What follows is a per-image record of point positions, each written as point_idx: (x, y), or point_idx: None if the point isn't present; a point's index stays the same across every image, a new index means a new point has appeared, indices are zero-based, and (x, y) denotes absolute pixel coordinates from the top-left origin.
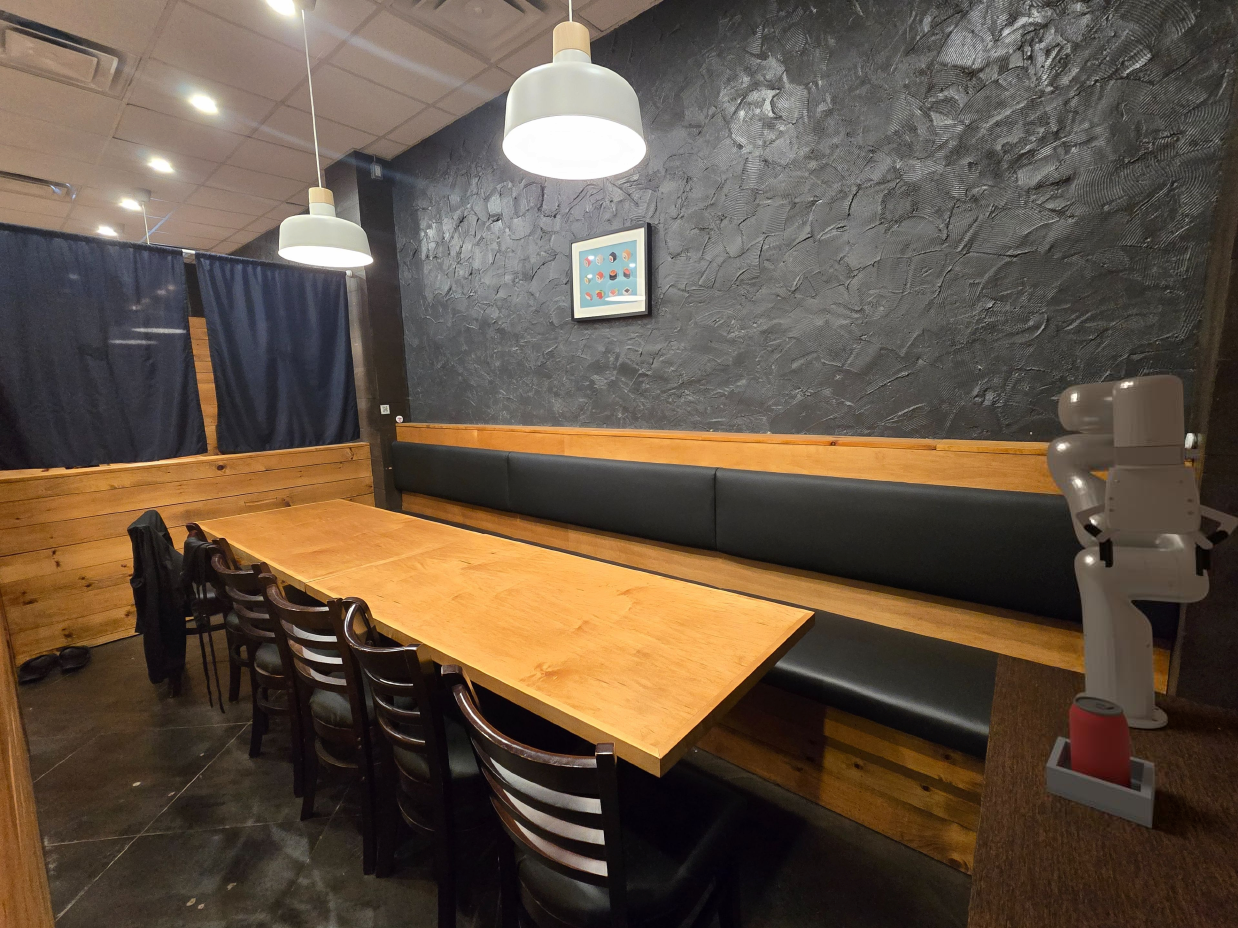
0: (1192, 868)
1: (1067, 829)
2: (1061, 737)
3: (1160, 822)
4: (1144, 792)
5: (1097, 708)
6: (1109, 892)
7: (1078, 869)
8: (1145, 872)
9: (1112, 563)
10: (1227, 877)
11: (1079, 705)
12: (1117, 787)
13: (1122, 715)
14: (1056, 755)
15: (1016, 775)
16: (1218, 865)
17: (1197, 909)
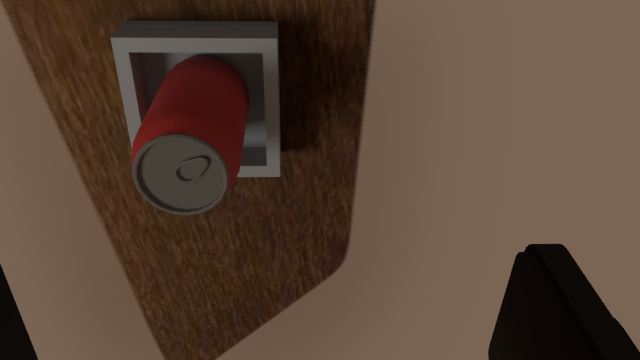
0: (322, 207)
1: (197, 224)
2: (117, 39)
3: (289, 127)
4: (271, 163)
5: (183, 183)
6: (255, 297)
7: (224, 284)
8: (280, 246)
9: (9, 322)
10: (353, 199)
11: (153, 205)
12: (238, 174)
13: (229, 178)
14: (137, 129)
15: (95, 133)
16: (347, 182)
17: (323, 269)
